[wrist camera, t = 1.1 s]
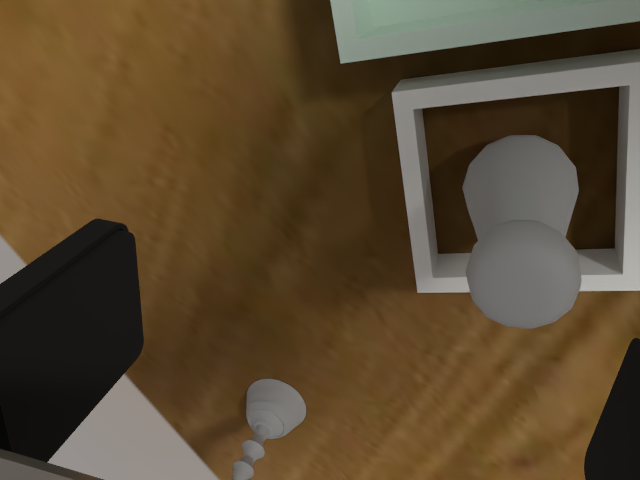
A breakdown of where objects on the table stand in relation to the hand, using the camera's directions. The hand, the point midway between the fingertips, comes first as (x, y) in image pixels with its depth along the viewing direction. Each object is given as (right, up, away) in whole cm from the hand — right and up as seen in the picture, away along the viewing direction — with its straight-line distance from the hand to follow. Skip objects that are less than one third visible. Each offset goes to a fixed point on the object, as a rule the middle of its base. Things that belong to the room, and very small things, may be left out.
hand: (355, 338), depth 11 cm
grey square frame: (+11, +6, +22) cm, 25 cm away
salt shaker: (+11, +6, +23) cm, 26 cm away
